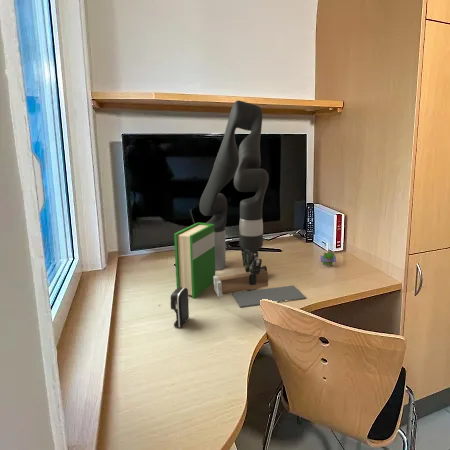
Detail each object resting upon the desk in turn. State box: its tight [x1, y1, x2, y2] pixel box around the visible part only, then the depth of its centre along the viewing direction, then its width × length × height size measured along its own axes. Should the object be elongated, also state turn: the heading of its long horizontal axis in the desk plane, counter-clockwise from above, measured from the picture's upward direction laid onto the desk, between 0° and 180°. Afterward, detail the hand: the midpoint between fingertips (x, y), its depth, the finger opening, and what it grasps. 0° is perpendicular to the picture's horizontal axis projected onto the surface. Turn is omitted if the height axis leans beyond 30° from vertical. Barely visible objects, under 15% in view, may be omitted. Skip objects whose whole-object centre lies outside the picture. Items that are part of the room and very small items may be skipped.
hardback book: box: [173, 222, 216, 299], centre depth 140 cm, size 18×7×24 cm, turn 155°
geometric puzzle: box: [320, 250, 337, 268], centre depth 163 cm, size 7×7×8 cm
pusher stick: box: [213, 269, 269, 298], centre depth 119 cm, size 6×17×5 cm, turn 105°
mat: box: [231, 285, 307, 308], centre depth 134 cm, size 11×25×1 cm, turn 104°
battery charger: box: [170, 287, 190, 328], centre depth 115 cm, size 7×4×11 cm, turn 165°
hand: (251, 282), depth 120 cm, fingers closed on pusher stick, 3 cm apart
